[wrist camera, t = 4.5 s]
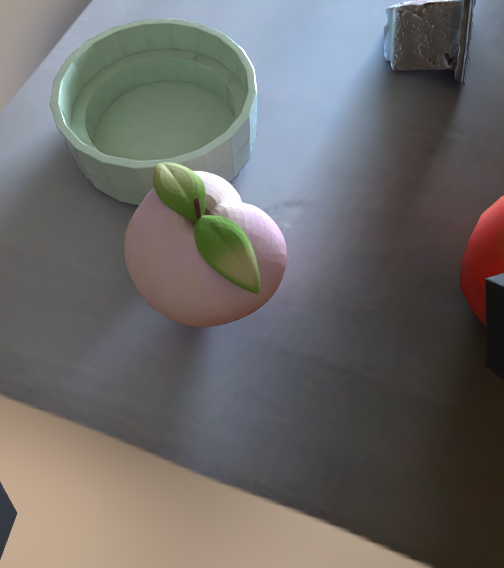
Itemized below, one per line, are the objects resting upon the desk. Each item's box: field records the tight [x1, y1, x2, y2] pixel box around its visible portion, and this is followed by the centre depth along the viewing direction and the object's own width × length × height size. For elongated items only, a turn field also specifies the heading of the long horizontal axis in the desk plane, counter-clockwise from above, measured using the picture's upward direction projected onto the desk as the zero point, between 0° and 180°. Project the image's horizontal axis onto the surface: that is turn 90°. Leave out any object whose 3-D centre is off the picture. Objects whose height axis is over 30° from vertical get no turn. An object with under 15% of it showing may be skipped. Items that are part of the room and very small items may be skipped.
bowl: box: [50, 18, 257, 205], centre depth 33 cm, size 14×14×5 cm
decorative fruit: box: [124, 162, 287, 327], centre depth 25 cm, size 9×8×10 cm
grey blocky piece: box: [383, 0, 476, 86], centre depth 38 cm, size 10×7×12 cm
